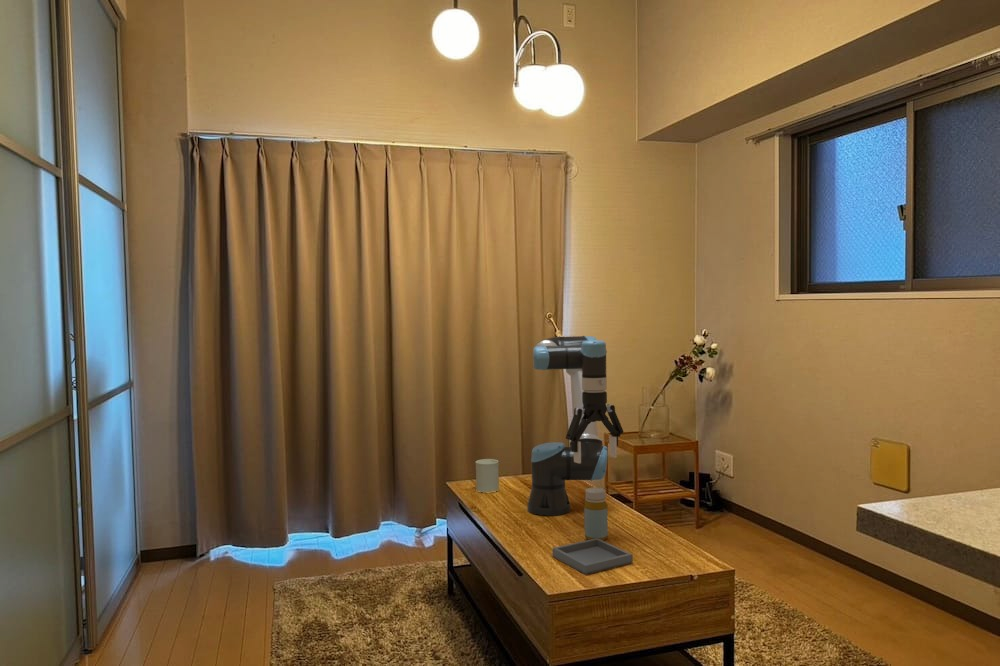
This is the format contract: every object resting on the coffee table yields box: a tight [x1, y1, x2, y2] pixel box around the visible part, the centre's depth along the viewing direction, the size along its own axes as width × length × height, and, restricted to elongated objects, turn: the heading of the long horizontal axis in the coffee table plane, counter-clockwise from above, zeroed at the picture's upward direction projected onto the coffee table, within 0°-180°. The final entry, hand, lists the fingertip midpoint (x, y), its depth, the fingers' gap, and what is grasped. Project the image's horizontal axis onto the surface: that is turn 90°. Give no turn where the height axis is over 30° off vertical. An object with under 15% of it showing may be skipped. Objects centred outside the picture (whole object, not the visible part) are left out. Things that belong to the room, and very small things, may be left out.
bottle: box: [583, 487, 609, 541], centre depth 211 cm, size 7×7×15 cm
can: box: [475, 458, 500, 492], centre depth 270 cm, size 9×9×12 cm
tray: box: [552, 538, 634, 576], centre depth 194 cm, size 16×16×2 cm
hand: (595, 459), depth 211 cm, fingers open, 13 cm apart
